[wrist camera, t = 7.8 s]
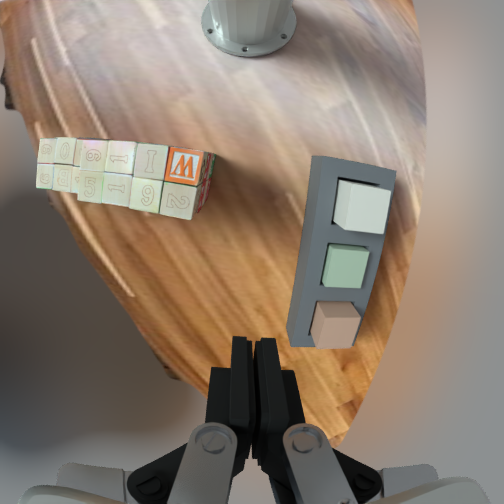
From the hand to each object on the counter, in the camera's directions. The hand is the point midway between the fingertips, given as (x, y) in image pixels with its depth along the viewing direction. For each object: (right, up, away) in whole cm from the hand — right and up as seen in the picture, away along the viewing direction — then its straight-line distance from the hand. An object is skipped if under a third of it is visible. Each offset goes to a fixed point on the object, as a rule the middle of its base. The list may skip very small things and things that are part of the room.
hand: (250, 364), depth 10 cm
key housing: (+12, +4, +28) cm, 30 cm away
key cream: (+13, +11, +22) cm, 27 cm away
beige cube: (+11, -4, +27) cm, 29 cm away
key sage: (+12, +4, +27) cm, 29 cm away
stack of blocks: (-15, +16, +23) cm, 32 cm away
